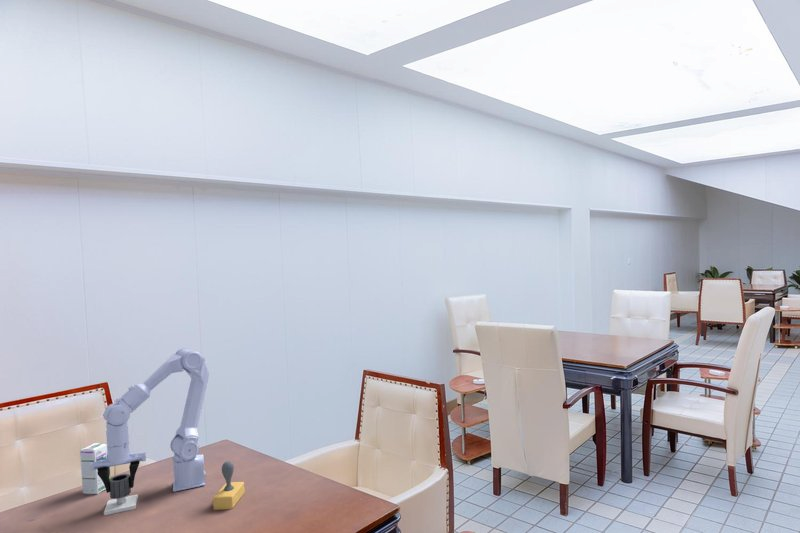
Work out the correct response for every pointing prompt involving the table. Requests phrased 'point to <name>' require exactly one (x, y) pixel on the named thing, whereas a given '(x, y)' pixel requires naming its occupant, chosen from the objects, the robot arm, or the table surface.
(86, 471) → the syrup box
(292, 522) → the table surface
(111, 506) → the white square peg stand
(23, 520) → the table surface
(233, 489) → the rubber stamp
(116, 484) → the gray grooved hollow cylinder
